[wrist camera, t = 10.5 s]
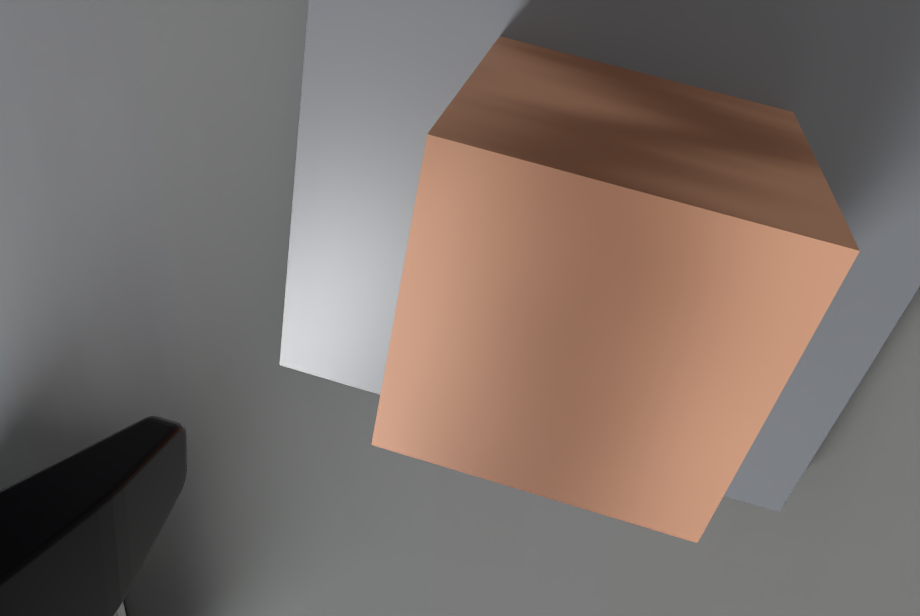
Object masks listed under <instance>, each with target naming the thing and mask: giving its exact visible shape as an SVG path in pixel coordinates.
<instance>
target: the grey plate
mask: <svg viewBox="0 0 920 616" xmlns="http://www.w3.org/2000/svg"><path fill="white" fill-rule="evenodd" d="M499 36H501V37H505V38H509V39H513V40H517V41H520V42H524V43H528V44H532V45H536V46H540V47H544V48H548V49H551V50H555V51H559V52H563V53H567V54H571V55H575V56H578V57H582V58H586V59H590V60H594V61H598V62H602V63H605V64H609V65H613V66H617V67H621V68H625V69H629V70H633V71H636V72H640V73H644V74H648V75H652V76H656V77H660V78H663V79H667V80H671V81H675V82H679V83H683V84H687V85H690V86H694V87H698V88H702V89H706V90H710V91H714V92H718V93H721V94H725V95H729V96H733V97H737V98H741V99H745V100H748V101H752V102H756V103H760V104H764V105H768V106H772V107H775V108H779V109H783V110H787V111H791V112H794V114H795V116H796V118H797V121H798V123H799V125H800V127H801V129H802V131H803V133H804V135H805V137H806V139H807V141H808V144H809V146H810V148H811V150H812V152H813V154H814V156H815V158H816V160H817V162H818V164H819V167H820V169H821V171H822V173H823V175H824V177H825V179H826V181H827V183H828V185H829V187H830V190H831V192H832V194H833V196H834V198H835V200H836V202H837V204H838V206H839V208H840V210H841V213H842V215H843V217H844V219H845V221H846V223H847V225H848V227H849V229H850V231H851V233H852V236H853V238H854V240H855V242H856V244H857V246H858V248H859V250H860V252H859V253H858V255H857V257H856V259H855V261H854V262H853V264H852V266H851V268H850V270H849V271H848V273H847V275H846V277H845V279H844V280H843V282H842V284H841V286H840V288H839V289H838V291H837V293H836V295H835V297H834V298H833V300H832V302H831V304H830V306H829V307H828V309H827V311H826V313H825V315H824V316H823V318H822V320H821V322H820V324H819V325H818V327H817V329H816V331H815V333H814V334H813V336H812V338H811V340H810V342H809V343H808V345H807V347H806V349H805V350H804V352H803V354H802V356H801V358H800V359H799V361H798V363H797V365H796V367H795V368H794V370H793V372H792V374H791V376H790V377H789V379H788V381H787V383H786V385H785V386H784V388H783V390H782V392H781V394H780V395H779V397H778V399H777V401H776V403H775V404H774V406H773V408H772V410H771V412H770V413H769V415H768V417H767V419H766V421H765V422H764V424H763V426H762V428H761V430H760V431H759V433H758V435H757V437H756V439H755V440H754V442H753V444H752V446H751V448H750V449H749V451H748V453H747V455H746V456H745V458H744V460H743V462H742V464H741V465H740V467H739V469H738V471H737V473H736V474H735V476H734V478H733V480H732V482H731V483H730V485H729V487H728V489H727V491H726V492H725V494H724V496H725V497H729V498H732V499H735V500H739V501H742V502H746V503H749V504H752V505H756V506H759V507H762V508H766V509H769V510H773V511H776V512H780V510H781V508H782V507H783V505H784V503H785V502H786V500H787V499H788V497H789V495H790V494H791V492H792V491H793V489H794V487H795V486H796V484H797V483H798V481H799V479H800V478H801V476H802V475H803V473H804V471H805V470H806V468H807V467H808V465H809V463H810V462H811V460H812V459H813V457H814V455H815V454H816V452H817V451H818V449H819V447H820V446H821V444H822V442H823V441H824V439H825V438H826V436H827V434H828V433H829V431H830V430H831V428H832V426H833V425H834V423H835V422H836V420H837V418H838V417H839V415H840V414H841V412H842V410H843V409H844V407H845V406H846V404H847V402H848V401H849V399H850V398H851V396H852V394H853V393H854V391H855V389H856V388H857V386H858V385H859V383H860V381H861V380H862V378H863V377H864V375H865V373H866V372H867V370H868V369H869V367H870V365H871V364H872V362H873V361H874V359H875V357H876V356H877V354H878V353H879V351H880V349H881V348H882V346H883V345H884V343H885V341H886V340H887V338H888V336H889V335H890V333H891V332H892V330H893V328H894V327H895V325H896V324H897V322H898V320H899V319H900V317H901V316H902V314H903V312H904V311H905V309H906V308H907V306H908V304H909V303H910V301H911V300H912V298H913V296H914V295H915V293H916V292H917V290H918V288H919V287H920V0H309V4H308V16H307V29H306V41H305V54H304V66H303V79H302V91H301V104H300V116H299V129H298V141H297V154H296V166H295V179H294V191H293V204H292V216H291V229H290V241H289V253H288V266H287V278H286V291H285V303H284V316H283V328H282V341H281V353H280V365H281V366H285V367H288V368H292V369H295V370H298V371H302V372H305V373H308V374H312V375H315V376H319V377H322V378H325V379H329V380H332V381H336V382H339V383H342V384H346V385H349V386H353V387H356V388H359V389H363V390H366V391H369V392H373V393H376V394H381V389H382V383H383V378H384V372H385V367H386V361H387V355H388V350H389V344H390V339H391V333H392V328H393V322H394V316H395V311H396V305H397V300H398V294H399V289H400V283H401V277H402V272H403V266H404V261H405V255H406V250H407V244H408V238H409V233H410V227H411V222H412V216H413V211H414V205H415V199H416V194H417V188H418V183H419V177H420V171H421V166H422V160H423V155H424V149H425V144H426V138H427V134H428V132H429V131H430V130H431V128H432V127H433V126H434V124H435V123H436V122H437V120H438V119H439V118H440V116H441V115H442V113H443V112H444V111H445V109H446V108H447V107H448V105H449V104H450V103H451V101H452V100H453V99H454V97H455V96H456V95H457V93H458V92H459V90H460V89H461V88H462V86H463V85H464V84H465V82H466V81H467V80H468V78H469V77H470V76H471V74H472V73H473V72H474V70H475V69H476V67H477V66H478V65H479V63H480V62H481V61H482V59H483V58H484V57H485V55H486V54H487V53H488V51H489V50H490V49H491V47H492V46H493V44H494V43H495V42H496V40H497V39H498V38H499Z"/></svg>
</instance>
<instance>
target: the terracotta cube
mask: <svg viewBox="0 0 920 616" xmlns="http://www.w3.org/2000/svg"><path fill="white" fill-rule="evenodd" d="M859 252H860V250H859V248H858V246H857V244H856V242H855V240H854V238H853V236H852V233H851V231H850V229H849V227H848V225H847V223H846V221H845V219H844V217H843V215H842V213H841V210H840V208H839V206H838V204H837V202H836V200H835V198H834V196H833V194H832V192H831V190H830V187H829V185H828V183H827V181H826V179H825V177H824V175H823V173H822V171H821V169H820V167H819V164H818V162H817V160H816V158H815V156H814V154H813V152H812V150H811V148H810V146H809V144H808V141H807V139H806V137H805V135H804V133H803V131H802V129H801V127H800V125H799V123H798V121H797V118H796V116H795V114H794V112H791V111H787V110H783V109H779V108H775V107H772V106H768V105H764V104H760V103H756V102H752V101H748V100H745V99H741V98H737V97H733V96H729V95H725V94H721V93H718V92H714V91H710V90H706V89H702V88H698V87H694V86H690V85H687V84H683V83H679V82H675V81H671V80H667V79H663V78H660V77H656V76H652V75H648V74H644V73H640V72H636V71H633V70H629V69H625V68H621V67H617V66H613V65H609V64H605V63H602V62H598V61H594V60H590V59H586V58H582V57H578V56H575V55H571V54H567V53H563V52H559V51H555V50H551V49H548V48H544V47H540V46H536V45H532V44H528V43H524V42H520V41H517V40H513V39H509V38H505V37H501V36H499V38H498V39H497V40H496V42H495V43H494V44H493V46H492V47H491V49H490V50H489V51H488V53H487V54H486V55H485V57H484V58H483V59H482V61H481V62H480V63H479V65H478V66H477V67H476V69H475V70H474V72H473V73H472V74H471V76H470V77H469V78H468V80H467V81H466V82H465V84H464V85H463V86H462V88H461V89H460V90H459V92H458V93H457V95H456V96H455V97H454V99H453V100H452V101H451V103H450V104H449V105H448V107H447V108H446V109H445V111H444V112H443V113H442V115H441V116H440V118H439V119H438V120H437V122H436V123H435V124H434V126H433V127H432V128H431V130H430V131H429V132H428V134H427V138H426V144H425V149H424V155H423V160H422V166H421V171H420V177H419V183H418V188H417V194H416V199H415V205H414V211H413V216H412V222H411V227H410V233H409V238H408V244H407V250H406V255H405V261H404V266H403V272H402V277H401V283H400V289H399V294H398V300H397V305H396V311H395V316H394V322H393V328H392V333H391V339H390V344H389V350H388V355H387V361H386V367H385V372H384V378H383V383H382V389H381V394H380V400H379V406H378V411H377V417H376V422H375V428H374V434H373V439H372V445H374V446H377V447H380V448H384V449H387V450H390V451H394V452H397V453H400V454H404V455H407V456H410V457H414V458H417V459H420V460H424V461H427V462H430V463H434V464H437V465H440V466H444V467H447V468H450V469H453V470H457V471H460V472H463V473H467V474H470V475H473V476H477V477H480V478H483V479H487V480H490V481H493V482H497V483H500V484H503V485H507V486H510V487H513V488H517V489H520V490H523V491H526V492H530V493H533V494H536V495H540V496H543V497H546V498H550V499H553V500H556V501H560V502H563V503H566V504H570V505H573V506H576V507H580V508H583V509H586V510H590V511H593V512H596V513H599V514H603V515H606V516H609V517H613V518H616V519H619V520H623V521H626V522H629V523H633V524H636V525H639V526H643V527H646V528H649V529H653V530H656V531H659V532H663V533H666V534H669V535H672V536H676V537H679V538H682V539H686V540H689V541H692V542H696V543H698V541H699V539H700V537H701V536H702V534H703V532H704V530H705V528H706V527H707V525H708V523H709V521H710V519H711V518H712V516H713V514H714V512H715V510H716V509H717V507H718V505H719V503H720V501H721V500H722V498H723V496H724V494H725V492H726V491H727V489H728V487H729V485H730V483H731V482H732V480H733V478H734V476H735V474H736V473H737V471H738V469H739V467H740V465H741V464H742V462H743V460H744V458H745V456H746V455H747V453H748V451H749V449H750V448H751V446H752V444H753V442H754V440H755V439H756V437H757V435H758V433H759V431H760V430H761V428H762V426H763V424H764V422H765V421H766V419H767V417H768V415H769V413H770V412H771V410H772V408H773V406H774V404H775V403H776V401H777V399H778V397H779V395H780V394H781V392H782V390H783V388H784V386H785V385H786V383H787V381H788V379H789V377H790V376H791V374H792V372H793V370H794V368H795V367H796V365H797V363H798V361H799V359H800V358H801V356H802V354H803V352H804V350H805V349H806V347H807V345H808V343H809V342H810V340H811V338H812V336H813V334H814V333H815V331H816V329H817V327H818V325H819V324H820V322H821V320H822V318H823V316H824V315H825V313H826V311H827V309H828V307H829V306H830V304H831V302H832V300H833V298H834V297H835V295H836V293H837V291H838V289H839V288H840V286H841V284H842V282H843V280H844V279H845V277H846V275H847V273H848V271H849V270H850V268H851V266H852V264H853V262H854V261H855V259H856V257H857V255H858V253H859Z"/></svg>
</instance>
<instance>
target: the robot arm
mask: <svg viewBox="0 0 920 616" xmlns="http://www.w3.org/2000/svg"><path fill="white" fill-rule="evenodd" d="M186 471H187V458H186V430H185V428H184V426H183V425H181V424H180V423H177V422H174V421H170V420H167V419H164V418H160V417H156V416H151V417H147V418H144V419H142V420H140V421H138V422H136V423H134V424H132V425H130V426H128V427H126V428H124V429H122V430H120V431H118V432H117V433H115V434H113V435H111V436H109V437H107V438H105V439H103V440H101V441H99V442H97V443H95V444H93V445H91V446H89V447H87V448H85V449H83V450H81V451H79V452H77V453H75V454H73V455H71V456H69V457H67V458H65V459H63V460H61V461H59V462H57V463H55V464H53V465H51V466H49V467H47V468H45V469H43V470H41V471H39V472H37V473H35V474H33V475H31V476H29V477H27V478H25V479H23V480H21V481H19V482H17V483H15V484H13V485H11V486H9V487H7V488H5V489H3V490H1V491H0V616H114V615H115V613H116V612H117V610H118V609H119V607H120V606H121V604H122V602H123V600H124V599H125V597H126V595H127V593H128V591H129V590H130V588H131V586H132V584H133V582H134V580H135V578H136V576H137V575H138V573H139V571H140V569H141V567H142V565H143V563H144V561H145V559H146V557H147V555H148V554H149V552H150V550H151V548H152V546H153V544H154V542H155V540H156V538H157V536H158V534H159V533H160V531H161V529H162V527H163V525H164V523H165V521H166V519H167V517H168V515H169V513H170V512H171V510H172V508H173V506H174V504H175V502H176V500H177V498H178V496H179V494H180V492H181V490H182V488H183V485H184V482H185V479H186Z"/></svg>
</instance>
